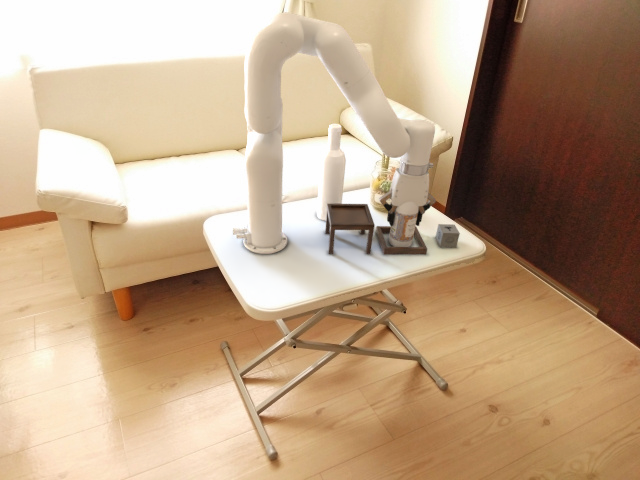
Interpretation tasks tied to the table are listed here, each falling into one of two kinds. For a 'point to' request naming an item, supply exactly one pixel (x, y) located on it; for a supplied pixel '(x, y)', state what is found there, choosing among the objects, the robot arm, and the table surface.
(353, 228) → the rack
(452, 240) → the dice cube
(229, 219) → the table surface
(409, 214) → the bath foam
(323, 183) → the bottle
